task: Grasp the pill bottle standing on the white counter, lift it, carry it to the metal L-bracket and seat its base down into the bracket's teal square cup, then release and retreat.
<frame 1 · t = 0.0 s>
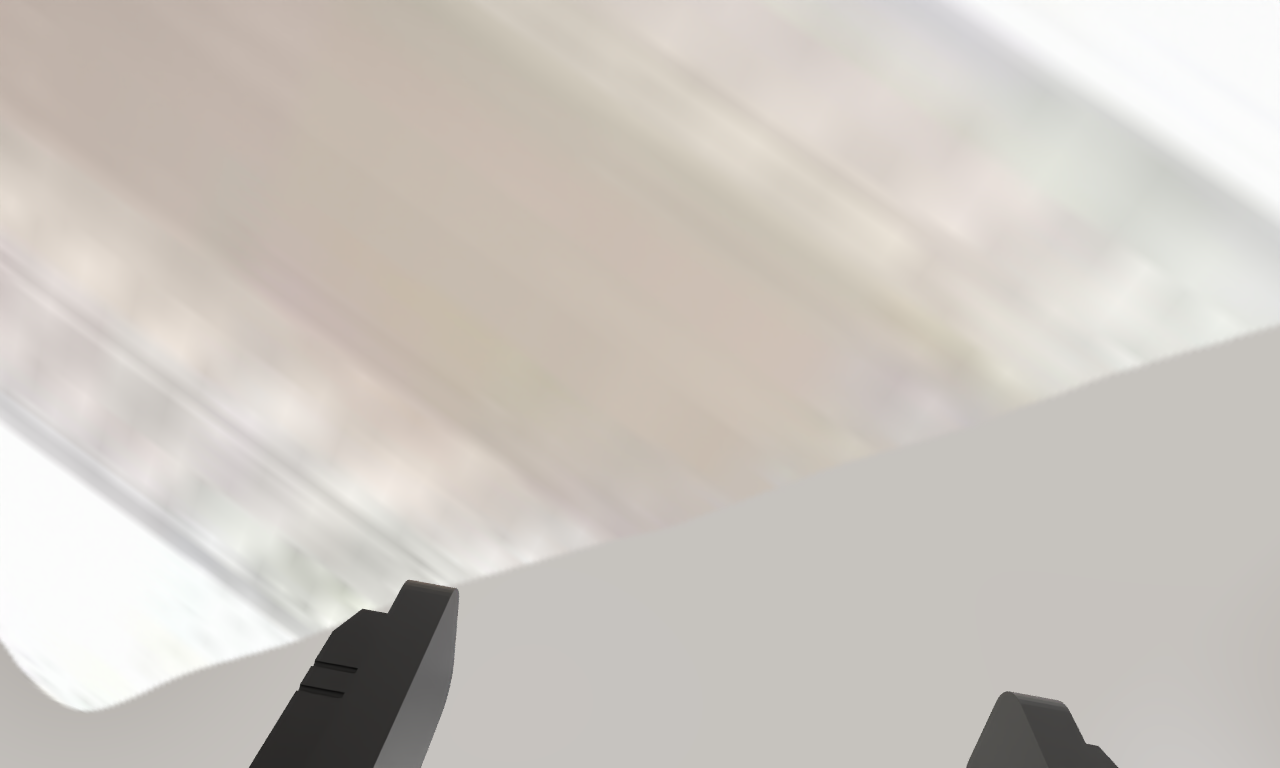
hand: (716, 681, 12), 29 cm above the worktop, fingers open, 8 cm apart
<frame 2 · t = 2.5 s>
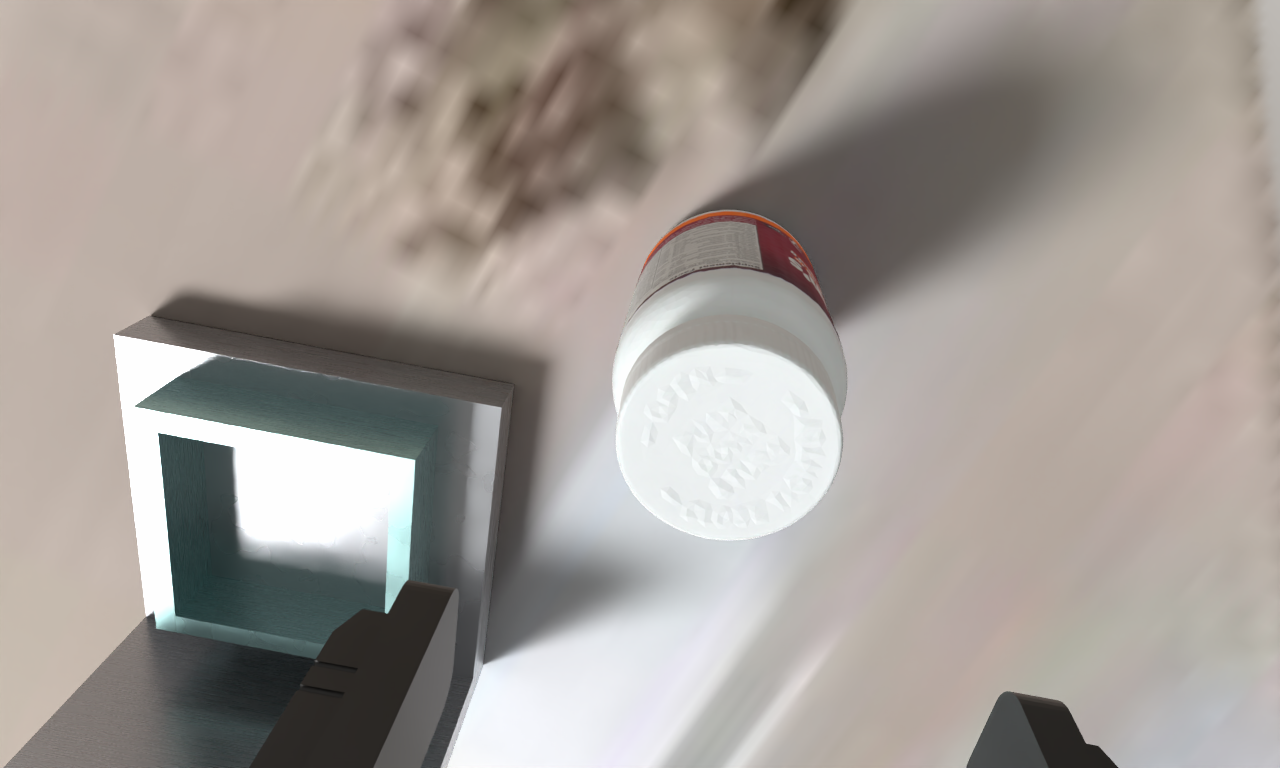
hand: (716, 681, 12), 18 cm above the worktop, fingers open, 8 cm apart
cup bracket: (330, 484, 33), on the worktop
pill bottle: (725, 291, 29), on the worktop
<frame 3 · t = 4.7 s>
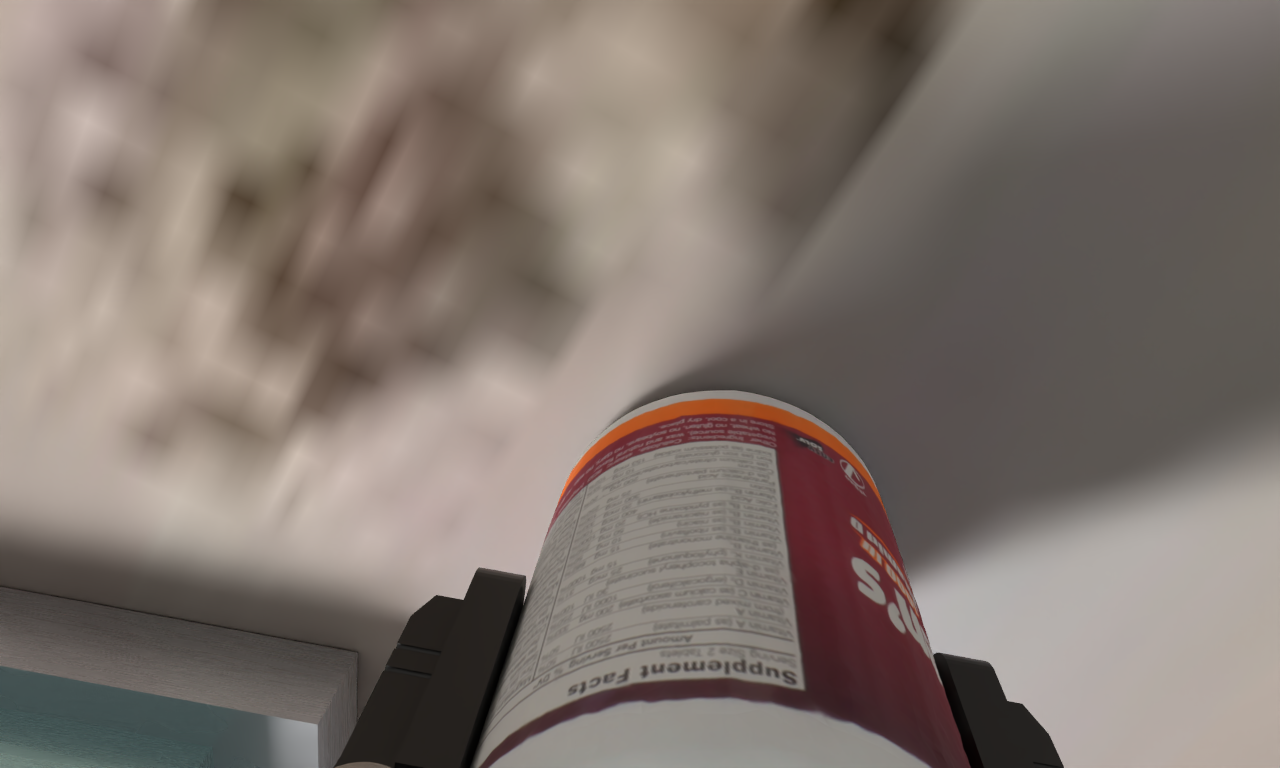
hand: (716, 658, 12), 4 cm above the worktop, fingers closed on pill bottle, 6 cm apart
pill bottle: (717, 516, 16), on the worktop, touching gripper
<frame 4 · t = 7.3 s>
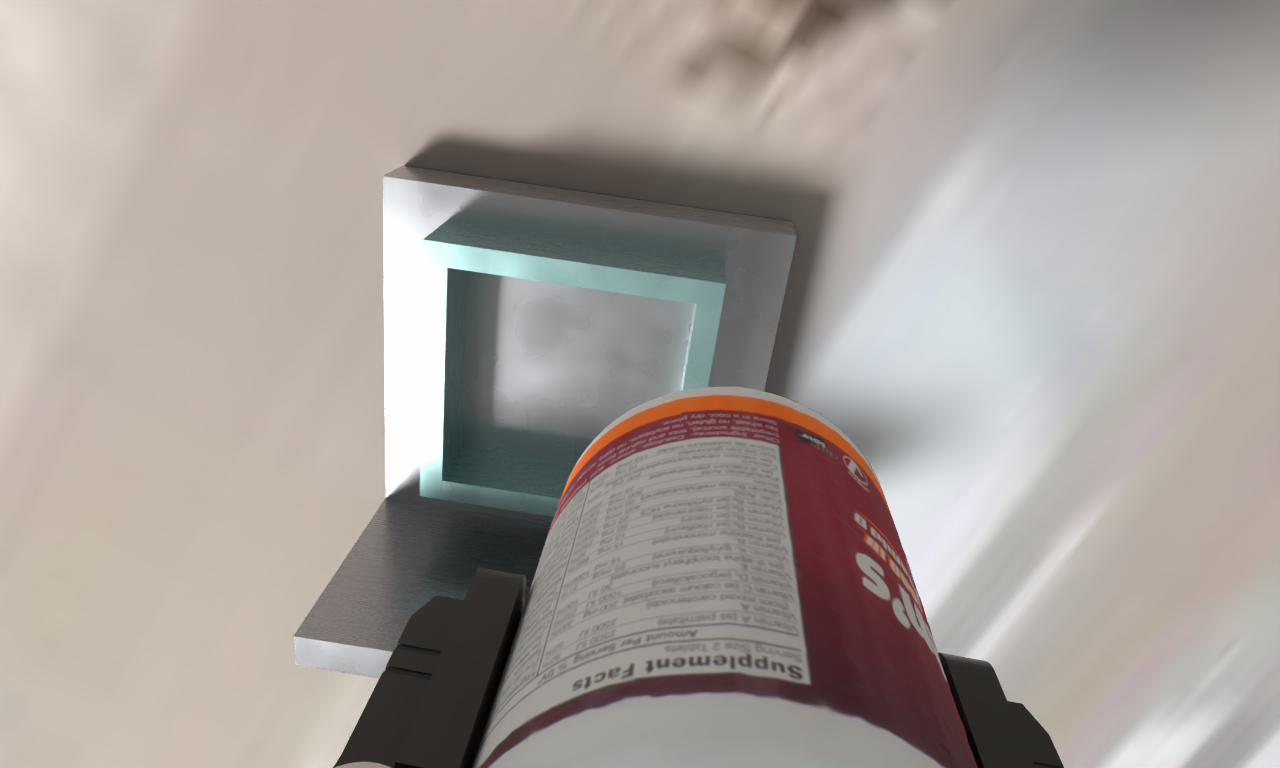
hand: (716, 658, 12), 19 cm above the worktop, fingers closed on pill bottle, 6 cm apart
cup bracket: (580, 347, 32), on the worktop
pill bottle: (719, 513, 16), point 16 cm above the worktop, touching gripper
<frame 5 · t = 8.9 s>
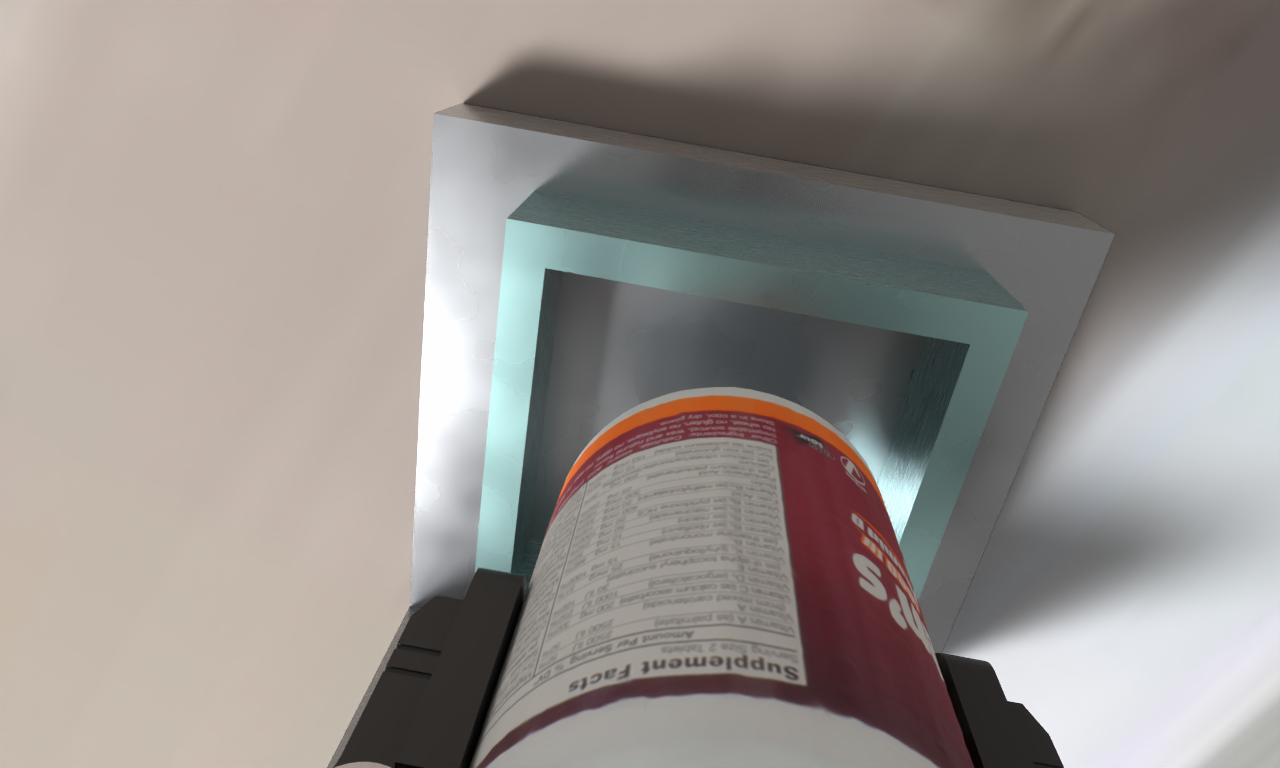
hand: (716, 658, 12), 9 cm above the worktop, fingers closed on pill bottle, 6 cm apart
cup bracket: (715, 394, 21), on the worktop
pill bottle: (717, 513, 16), point 6 cm above the worktop, touching gripper
when the fingers open (7 cm above the worktop, at t = 10.3 s): pill bottle drops 1 cm, resting on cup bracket.
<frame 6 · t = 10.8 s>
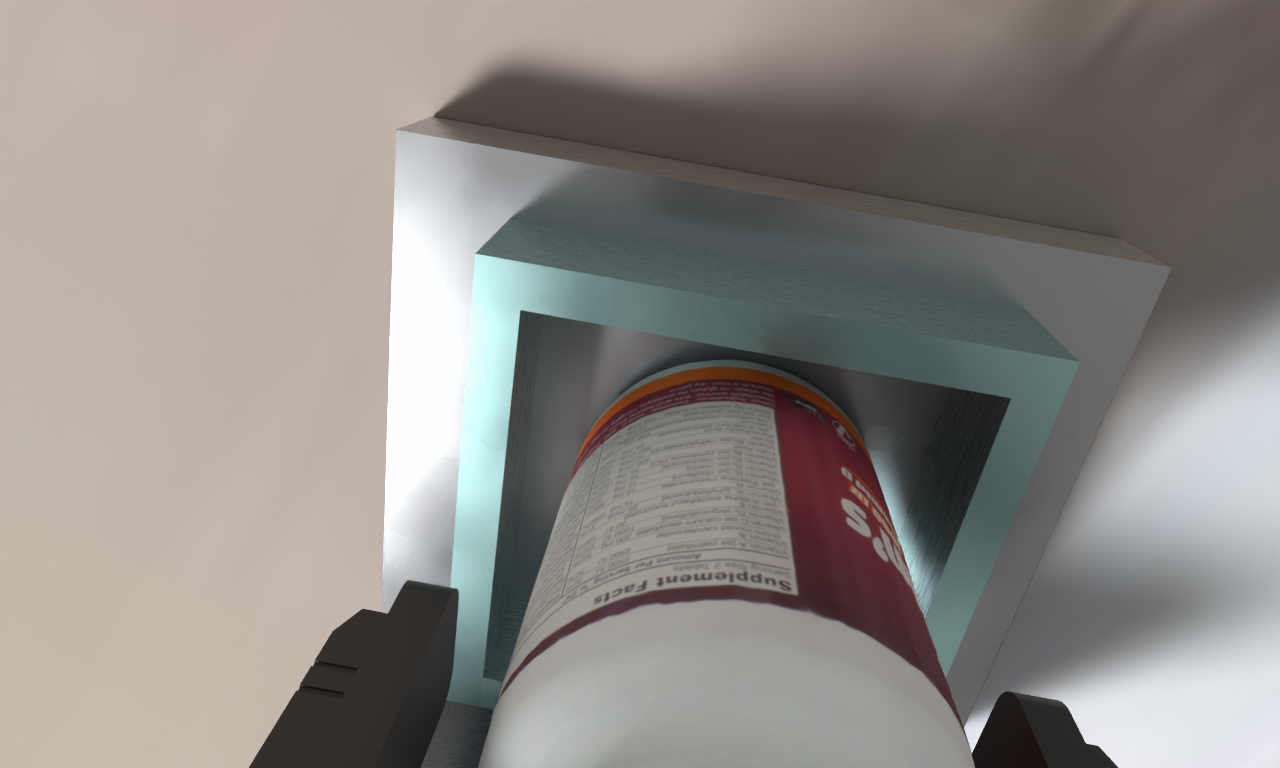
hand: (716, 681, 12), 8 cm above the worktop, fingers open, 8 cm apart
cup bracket: (716, 436, 19), on the worktop
pill bottle: (720, 479, 17), point 2 cm above the worktop, touching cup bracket
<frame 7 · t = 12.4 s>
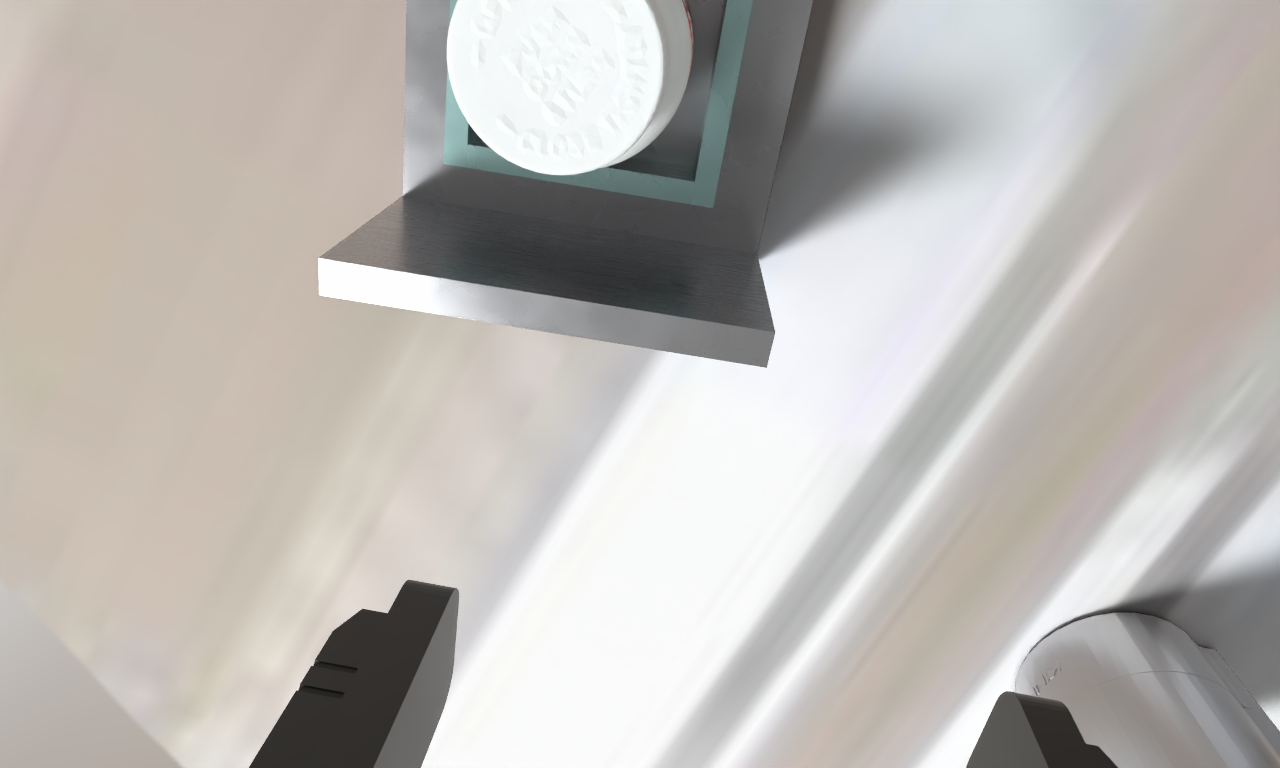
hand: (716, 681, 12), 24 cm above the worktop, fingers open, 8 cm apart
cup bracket: (608, 32, 31), on the worktop
pill bottle: (606, 36, 29), point 2 cm above the worktop, touching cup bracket
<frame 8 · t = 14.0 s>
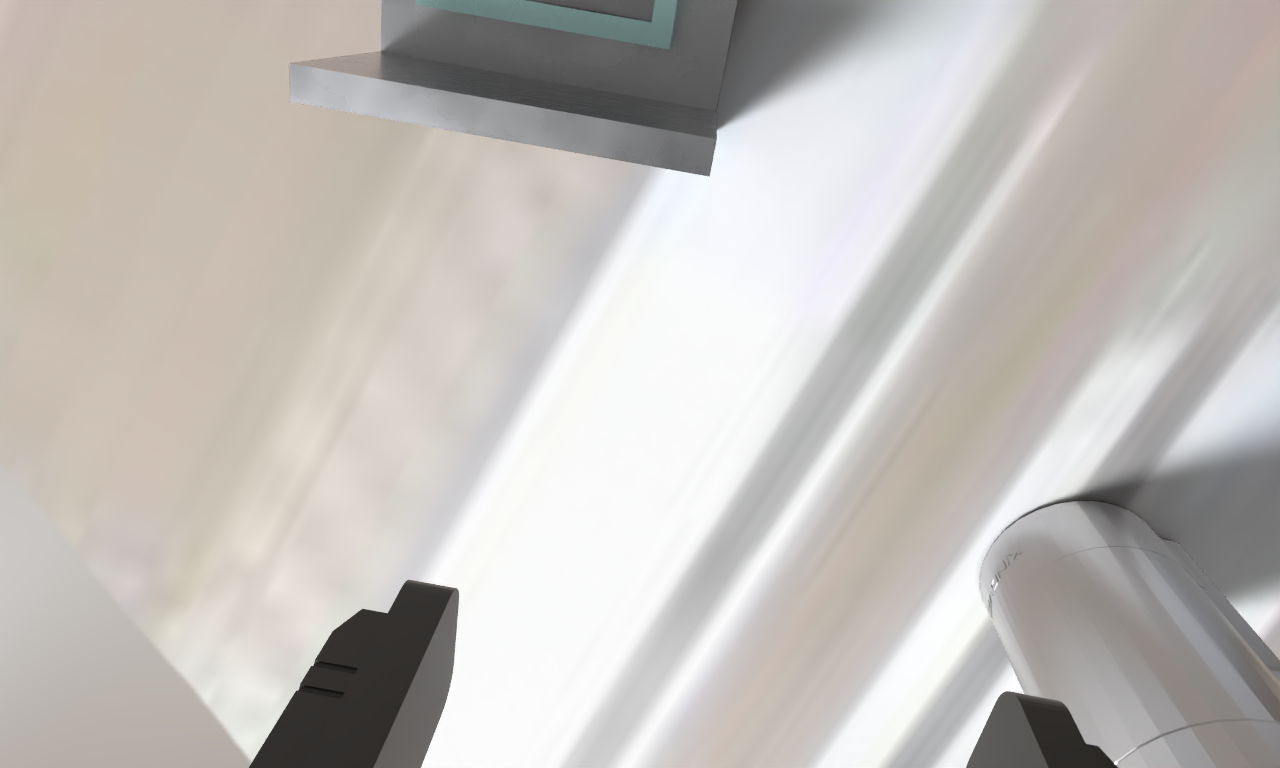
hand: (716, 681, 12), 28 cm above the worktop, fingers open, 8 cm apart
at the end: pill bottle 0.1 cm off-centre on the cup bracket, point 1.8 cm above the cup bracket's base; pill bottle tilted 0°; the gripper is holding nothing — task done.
